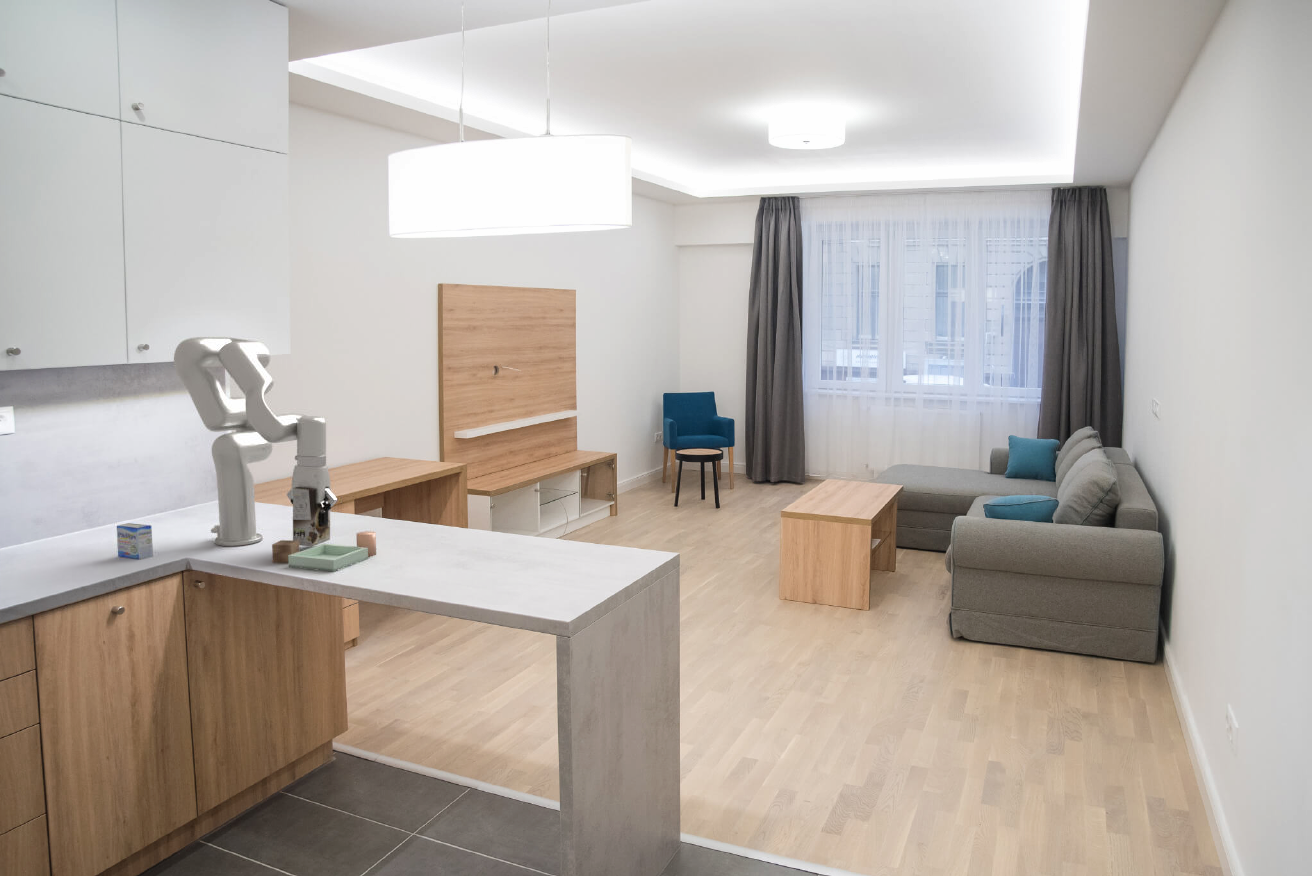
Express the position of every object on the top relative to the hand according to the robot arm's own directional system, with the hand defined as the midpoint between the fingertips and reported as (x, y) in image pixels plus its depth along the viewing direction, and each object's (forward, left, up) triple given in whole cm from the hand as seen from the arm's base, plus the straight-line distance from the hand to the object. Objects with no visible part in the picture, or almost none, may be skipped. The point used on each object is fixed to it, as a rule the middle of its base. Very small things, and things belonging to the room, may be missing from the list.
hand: (311, 523), depth 252 cm
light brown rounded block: (+18, 0, -7) cm, 19 cm away
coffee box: (0, 0, -6) cm, 6 cm away
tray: (+14, -11, -7) cm, 19 cm away
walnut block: (+2, -13, -7) cm, 15 cm away
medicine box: (-39, -23, -7) cm, 46 cm away
